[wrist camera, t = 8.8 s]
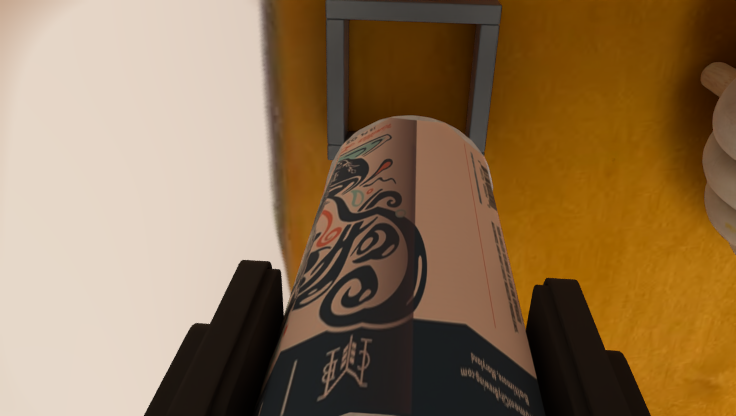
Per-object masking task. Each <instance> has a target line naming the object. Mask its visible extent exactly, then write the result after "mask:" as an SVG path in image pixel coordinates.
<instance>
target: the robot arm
mask: <svg viewBox="0 0 736 416" xmlns="http://www.w3.org/2000/svg"><path fill="white" fill-rule="evenodd" d="M283 313H284V312H283V296H282V279H281V271H280V270H279V269H272V265H271V263H270V262H268V261H251V260H242V261H241V262H240V263H239V265H238V267H237V270H236V272H235V274H234V275H233V278H232V280H231V282H230V284H229V286H228V288H227V290H226V292H225V294H224V296H223V298H222V300H221V303H220V304H219V307H218V309H217V311H216V313H215V315H214V317H213V319H212V321H211V323H210V324H202V323H195V324H194V325H192V327H191V328H190V330H189V331H188V333H187V335H186V337H185V338H184V340H183V342H182V344H181V346H180V348H179V350H178V352H177V354H176V356H175V358H174V360H173V361H172V363H171V365H170V367H169V369H168V371H167V373H166V375H165V376H164V378H163V380H162V382H161V384H160V386H159V388H158V390H157V392H156V394H155V396H154V398H153V400H152V401H151V403H150V405H149V407H148V409H147V411H146V413H145V415H144V416H252V415H253V412H254V409H255V406H256V403H257V400H258V397H259V394H260V390H261V387H262V384H263V381H264V378H265V375H266V372H267V369H268V365H269V362H270V359H271V356H272V353H273V350H274V347H275V344H276V340H277V337H278V334H279V331H280V328H281V325H282V322H283V319H284V314H283ZM526 335H527V339H528V343H529V347H530V352H531V356H532V360H533V364H534V369H535V373H536V377H537V381H538V385H539V390H540V394H541V398H542V402H543V406H544V411H545V415H546V416H651V415H650V413H649V411H648V408H647V406H646V404H645V401H644V399H643V397H642V395H641V392H640V390H639V388H638V385H637V383H636V381H635V378H634V376H633V374H632V372H631V369H630V367H629V365H628V362H627V360H626V358H625V357H624V355H623V354H622V353H621V352H620V351H611V350H605V348H604V345H603V343H602V340H601V338H600V335H599V333H598V330H597V328H596V325H595V323H594V320H593V318H592V315H591V313H590V310H589V308H588V305H587V303H586V300H585V298H584V295H583V293H582V290H581V288H580V285H579V283H578V281H577V280H573V279H556V278H546V279H545V281H544V284H543V285H535V286H534V289H533V293H532V299H531V304H530V310H529V315H528V321H527V326H526Z"/></svg>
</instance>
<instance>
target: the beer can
mask: <svg viewBox="0 0 736 416" xmlns="http://www.w3.org/2000/svg"><path fill="white" fill-rule="evenodd" d="M252 416H546V415H545V411H544V406H543V402H542V398H541V394H540V390H539V385H538V381H537V377H536V373H535V369H534V364H533V360H532V356H531V352H530V347H529V343H528V339H527V335H526V331H525V326H524V322H523V318H522V314H521V309H520V305H519V301H518V297H517V293H516V288H515V284H514V280H513V276H512V271H511V267H510V263H509V259H508V255H507V250H506V246H505V242H504V238H503V233H502V229H501V225H500V221H499V217H498V212H497V208H496V204H495V200H494V195H493V184H492V179H491V175H490V171H489V166H488V164H487V162H486V160H485V157H484V156H483V154H482V153H481V152H480V150H479V149H478V148H477V147H476V145H475V144H474V143H473V141H472V140H470V139H469V138H468V137H467V136H465V135H464V134H463V133H462V132H461V131H459V130H458V129H456V128H454V127H452V126H450V125H448V124H447V123H445V122H442V121H439V120H436V119H433V118H429V117H422V116H414V115H407V116H394V117H389V118H386V119H382V120H378V121H376V122H374V123H372V124H370V125H368V126H366V127H364V128H362V129H360V130H358V131H357V132H356V133H355V134H353V135H352V136H351V137H350V138H349V139H348V140H347V141H346V142H345V143H344V144H343V145H342V146H341V147H340V149H339V151H338V153H337V154H336V156H335V158H334V160H333V161H332V164H331V167H330V171H329V174H328V177H327V181H326V186H325V190H324V193H323V196H322V199H321V202H320V205H319V208H318V211H317V214H316V218H315V221H314V224H313V227H312V230H311V233H310V236H309V239H308V242H307V246H306V249H305V252H304V255H303V258H302V261H301V264H300V267H299V270H298V274H297V277H296V280H295V283H294V286H293V289H292V292H291V295H290V298H289V302H288V305H287V308H286V311H285V315H284V319H283V322H282V325H281V328H280V331H279V334H278V337H277V340H276V344H275V347H274V350H273V353H272V356H271V359H270V362H269V365H268V369H267V372H266V375H265V378H264V381H263V384H262V387H261V390H260V394H259V397H258V400H257V403H256V406H255V409H254V412H253V415H252Z"/></svg>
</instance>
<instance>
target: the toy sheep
mask: <svg viewBox="0 0 736 416" xmlns="http://www.w3.org/2000/svg"><path fill="white" fill-rule="evenodd" d="M701 83H702V85H703V86H705V87H706V88H707V89H709V90H710V91H711V92H713V93H714V94H716V95H717V96H719V97H720V98H719V100H718V102H717V104H716V107H715V110H714V113H713V132H712V133H711V135H710V136H709V138H708V140H707V142H706V145H705V147H704V151H703V160H702V162H703V169H704V173H705V176H706V179H707V184H706V187H705V197H704V199H705V207H706V211H707V214H708V217H709V219H710V221H711V223H712V224H713V226H714V228H715V229H716V230H717V231H718V232H719V233H720V235H721V236H722V237H723V238H725V239H726V240H727V241H728V242H729V244H730V246H731V248H732V250H733V252H734V253H735V255H736V69H735V68H733V67H731V66H730V65H728V64H726V63H723V62H714V63H711V64H710V65H708V66H707V67H706V68H705V69H704V70H703V71H702V74H701Z"/></svg>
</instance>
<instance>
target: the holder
mask: <svg viewBox="0 0 736 416" xmlns="http://www.w3.org/2000/svg"><path fill="white" fill-rule="evenodd" d="M501 11H502V5H501V4H500V2H499V1H498V0H326V18H327V19H326V62H327V139H328V160H334V158H335V156H336V154H337V153H338V151H339V149H340V147H341V146H342V145H343V144H344V143H345V142H346V141H347V140H348V139H349V138H350V137H351V136H352V135H353V134H355V133H356V132H348V108H349V19H351V20H379V21H408V22H437V23H465V24H476V32H475V41H474V51H473V61H472V71H471V81H470V91H469V101H468V110H467V120H466V130H465V136H467V137H468V138H469V139H470V140H472V141H473V143H474V144H475V145H476V147H477V148H478V149H479V150H480V152H481V153H482V154H483V156H484V151H485V144H486V136H487V127H488V119H489V111H490V102H491V94H492V86H493V77H494V69H495V60H496V52H497V44H498V35H499V27H500V26H499V24H500V19H501Z"/></svg>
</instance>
